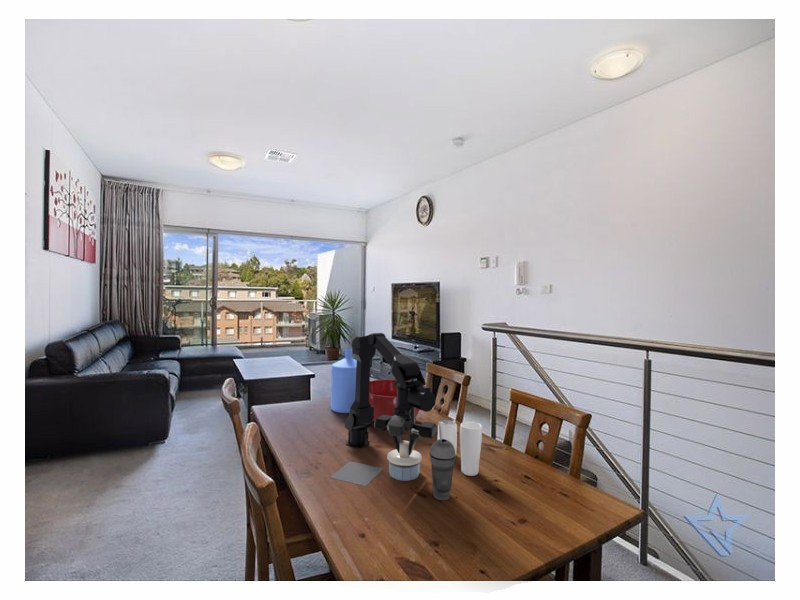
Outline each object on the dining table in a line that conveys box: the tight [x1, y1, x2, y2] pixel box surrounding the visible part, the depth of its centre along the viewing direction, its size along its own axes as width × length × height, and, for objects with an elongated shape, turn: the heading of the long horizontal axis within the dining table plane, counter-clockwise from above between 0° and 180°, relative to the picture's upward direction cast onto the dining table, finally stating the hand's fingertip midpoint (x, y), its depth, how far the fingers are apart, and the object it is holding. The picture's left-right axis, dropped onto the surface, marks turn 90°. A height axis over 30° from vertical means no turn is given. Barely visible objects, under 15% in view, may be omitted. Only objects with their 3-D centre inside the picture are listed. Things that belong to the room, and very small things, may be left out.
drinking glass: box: [459, 421, 483, 477], centre depth 121 cm, size 7×7×15 cm
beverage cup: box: [429, 422, 457, 501], centre depth 107 cm, size 7×7×20 cm
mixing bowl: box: [369, 378, 425, 429], centre depth 165 cm, size 28×28×15 cm
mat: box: [329, 460, 384, 487], centre depth 119 cm, size 12×12×1 cm
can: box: [437, 418, 458, 455], centre depth 133 cm, size 6×6×12 cm
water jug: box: [330, 348, 357, 414], centre depth 183 cm, size 16×16×28 cm
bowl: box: [388, 461, 421, 482], centre depth 119 cm, size 9×9×4 cm
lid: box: [386, 440, 422, 466], centre depth 119 cm, size 10×10×5 cm
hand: (404, 453), depth 119 cm, fingers closed on lid, 3 cm apart
